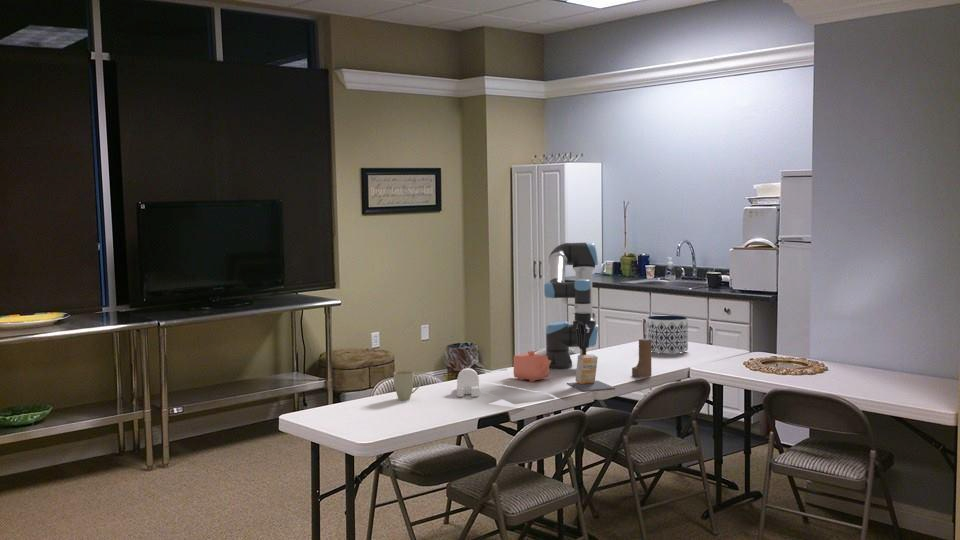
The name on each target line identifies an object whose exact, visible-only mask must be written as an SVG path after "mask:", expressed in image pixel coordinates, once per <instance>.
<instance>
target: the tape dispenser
mask: <svg viewBox="0 0 960 540" xmlns="http://www.w3.org/2000/svg"><path fill="white" fill-rule="evenodd" d="M456 380H457V381H456V383H457V384H456V397H460V398H461V397H463V398H464V397H465V395H470V396H471V397H472V398H473V397H479V393H480V381H479V374H478V372H477V371H476V370H475V369H473V368H471V367H466V368H463V369H462V370H460V371H459V373H458V374H457V378H456Z"/></svg>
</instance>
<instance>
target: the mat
mask: <svg viewBox="0 0 960 540" xmlns="http://www.w3.org/2000/svg"><path fill="white" fill-rule="evenodd" d="M566 384H567V385H569V386H570V387H572V388H574V389H576V390H579V391H580V392H583V393H584V392H596V391H606V390H607V391H608V390H616V387H614V386H612V385H609V384H608V383H605V382H602V381H600V380H595V383H586V384H579V383H578V382H576V381H575V382H567V383H566Z"/></svg>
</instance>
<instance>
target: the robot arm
mask: <svg viewBox="0 0 960 540" xmlns="http://www.w3.org/2000/svg"><path fill="white" fill-rule="evenodd" d="M597 255H598V253H597V249H596V244H595V243H594V242H563V243H561V244H558V245H557V246H556V247H554V249H552V251H551V252H550V253H549V256H548V264H549V276H548V278H549V279H548V280H549V281H548V282H545V283H544V285H543V286H544V290H543V293H544V297H545V298H547V299H549V298H550V299H561V298H562V299H574V305H573V308H574V312H575V313H574V319H573V320H572V324H570V322H569V321H564V320H563V321H557V322H556V321H555V322H551V323H549V324H547V325H546V327H545V330H546V331H545V338H546V341H545V348H546V352H545V355H546V356H547V357H548V360H551V363H550V365H549V370H567V369H568V370H569V369H572V368H573V361H572V359H571V355H570V348H579V355H586V354H587V349H589V348H593V347H595V346H596V345H597V339H598V331H599V324H597V323H596V322H597V321H596V320H595V318H594V317H593V272H594V271H595V269H596V266H598V264H599V262H598V261H599V260H598V256H597ZM566 266H572V270H573V271H574V272H575V280H574V281H569V282H568V281H567V282H565V279H566V278H565V277H566Z"/></svg>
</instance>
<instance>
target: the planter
mask: <svg viewBox="0 0 960 540" xmlns="http://www.w3.org/2000/svg"><path fill="white" fill-rule="evenodd" d="M688 319H689V317H687V316H683V315H673V314H672V315H670V314H669V315H668V314H664V315H662V314H661V315H659V314H658V315H650V316H647V319H646V321H647V324H646V325H647V326H646V329H647V331H646V332H647V335H646V339H650V340H651V351H653V352H659V353H680V352H685V351H687V350H688V351H689V347H688V346H689V341H688V340H689V327H688V325H689V320H688ZM653 352H652V353H653ZM659 353H658V354H659Z"/></svg>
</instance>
